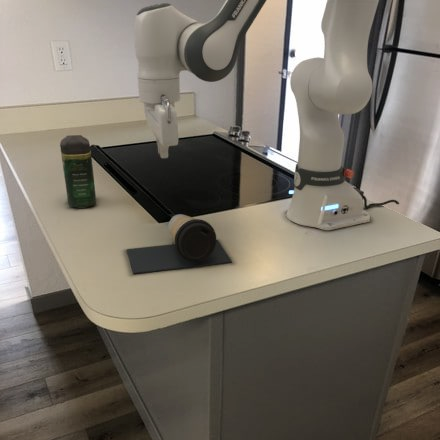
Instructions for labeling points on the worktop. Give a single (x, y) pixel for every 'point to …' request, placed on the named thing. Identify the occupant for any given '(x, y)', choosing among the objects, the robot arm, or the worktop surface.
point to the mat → (170, 259)
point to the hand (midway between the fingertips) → (163, 156)
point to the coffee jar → (78, 171)
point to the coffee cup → (192, 237)
